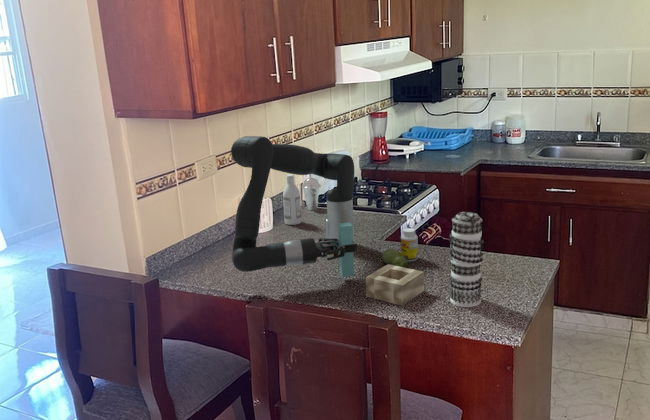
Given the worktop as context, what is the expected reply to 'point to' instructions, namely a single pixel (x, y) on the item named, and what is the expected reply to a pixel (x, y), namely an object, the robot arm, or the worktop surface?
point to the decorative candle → (466, 259)
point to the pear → (394, 258)
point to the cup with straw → (311, 192)
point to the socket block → (395, 284)
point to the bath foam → (291, 202)
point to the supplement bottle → (409, 245)
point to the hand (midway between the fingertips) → (354, 245)
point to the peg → (348, 260)
